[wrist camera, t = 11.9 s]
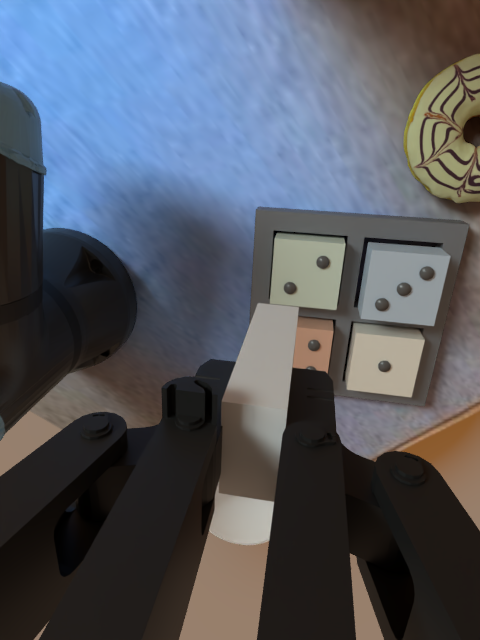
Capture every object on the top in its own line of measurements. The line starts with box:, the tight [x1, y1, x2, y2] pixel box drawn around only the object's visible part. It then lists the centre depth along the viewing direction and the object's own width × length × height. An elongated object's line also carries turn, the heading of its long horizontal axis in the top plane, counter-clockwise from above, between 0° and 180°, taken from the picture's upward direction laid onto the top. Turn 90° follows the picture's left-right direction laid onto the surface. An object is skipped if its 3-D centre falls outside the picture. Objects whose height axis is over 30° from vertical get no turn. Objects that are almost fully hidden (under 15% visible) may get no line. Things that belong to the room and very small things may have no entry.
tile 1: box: [345, 321, 425, 397], centre depth 41 cm, size 6×6×3 cm
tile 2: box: [270, 232, 346, 310], centre depth 39 cm, size 6×6×3 cm
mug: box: [209, 482, 274, 545], centre depth 45 cm, size 12×9×12 cm
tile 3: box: [358, 242, 450, 326], centre depth 37 cm, size 6×6×3 cm
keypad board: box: [249, 207, 469, 406], centre depth 42 cm, size 18×18×2 cm
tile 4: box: [293, 316, 334, 374], centre depth 42 cm, size 6×6×3 cm
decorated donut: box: [404, 54, 480, 203], centre depth 34 cm, size 10×11×4 cm
